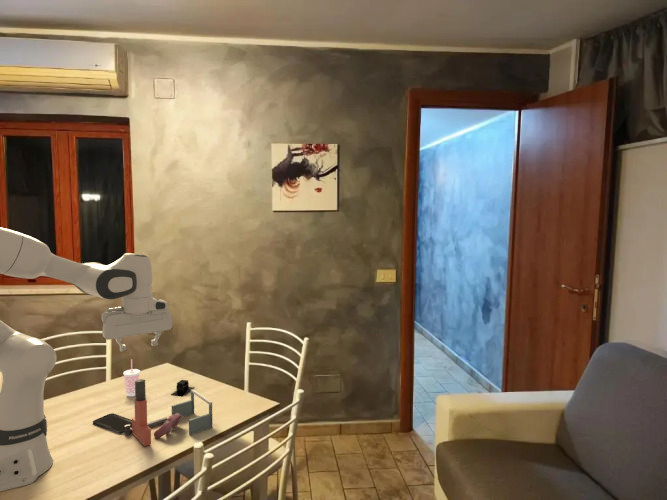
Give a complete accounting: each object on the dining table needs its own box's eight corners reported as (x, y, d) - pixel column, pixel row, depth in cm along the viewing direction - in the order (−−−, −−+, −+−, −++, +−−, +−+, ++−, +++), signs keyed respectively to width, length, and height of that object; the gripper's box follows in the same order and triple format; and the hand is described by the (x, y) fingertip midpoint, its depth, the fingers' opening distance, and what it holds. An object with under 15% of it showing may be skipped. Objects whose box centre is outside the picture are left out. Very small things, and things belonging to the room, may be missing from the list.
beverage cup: (120, 394, 181) (119, 359, 179) (135, 389, 186) (134, 355, 184) (129, 398, 177) (128, 363, 176) (143, 393, 182) (143, 359, 181)
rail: (125, 435, 149) (125, 426, 149) (124, 434, 150) (124, 425, 150) (167, 422, 159) (167, 414, 158) (166, 421, 159) (166, 413, 159)
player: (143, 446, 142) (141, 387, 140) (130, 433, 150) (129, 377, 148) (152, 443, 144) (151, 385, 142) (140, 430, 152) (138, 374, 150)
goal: (190, 435, 150) (189, 409, 149) (171, 419, 161) (171, 394, 160) (212, 427, 156) (212, 402, 155) (193, 412, 166) (192, 388, 165)
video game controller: (163, 444, 147) (171, 426, 146) (151, 436, 148) (160, 419, 147) (179, 429, 157) (187, 413, 156) (168, 422, 158) (176, 406, 156)
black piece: (181, 399, 178) (181, 388, 177) (165, 397, 180) (165, 386, 179) (198, 387, 190) (198, 376, 190) (182, 385, 192) (182, 375, 191)
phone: (111, 412, 163) (140, 422, 156) (111, 415, 164) (140, 425, 156) (90, 421, 157) (119, 432, 149) (91, 424, 157) (119, 435, 150)
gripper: (103, 311, 133) (105, 357, 135) (173, 302, 146) (174, 344, 148) (98, 307, 138) (100, 351, 140) (166, 299, 151) (167, 340, 152)
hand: (139, 348), depth 144 cm, fingers open, 8 cm apart
